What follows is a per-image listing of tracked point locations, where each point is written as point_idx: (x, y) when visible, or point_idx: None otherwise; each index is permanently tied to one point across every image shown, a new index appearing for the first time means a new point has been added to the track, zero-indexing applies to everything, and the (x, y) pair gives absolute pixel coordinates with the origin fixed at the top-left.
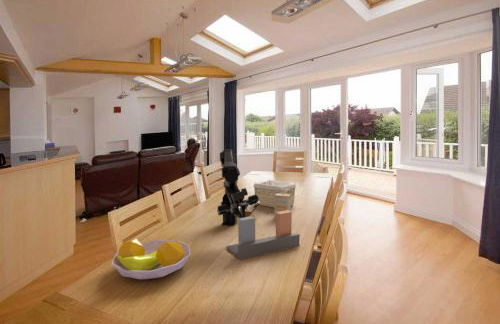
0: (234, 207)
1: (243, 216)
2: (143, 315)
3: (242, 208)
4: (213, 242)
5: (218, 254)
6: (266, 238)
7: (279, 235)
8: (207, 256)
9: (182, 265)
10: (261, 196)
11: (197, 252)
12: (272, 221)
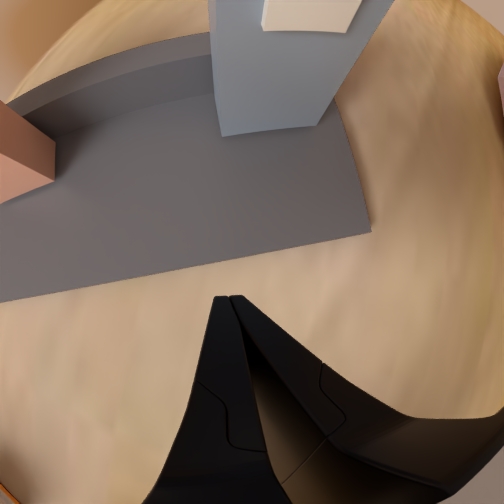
0: (483, 478)
1: (239, 349)
2: (482, 20)
3: (261, 493)
4: (412, 340)
5: (410, 164)
6: (75, 273)
7: (27, 123)
8: (449, 167)
9: (500, 73)
10: None
11: (479, 228)
12: (34, 491)
